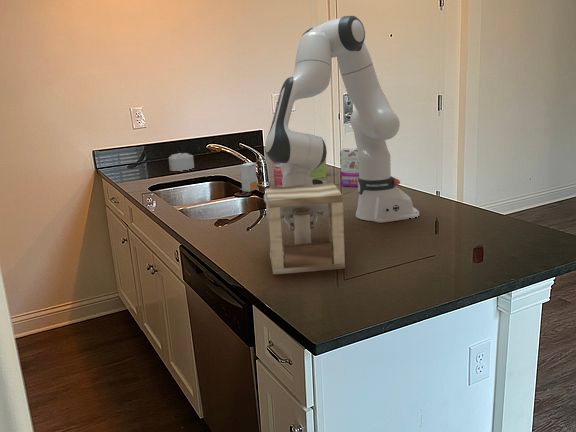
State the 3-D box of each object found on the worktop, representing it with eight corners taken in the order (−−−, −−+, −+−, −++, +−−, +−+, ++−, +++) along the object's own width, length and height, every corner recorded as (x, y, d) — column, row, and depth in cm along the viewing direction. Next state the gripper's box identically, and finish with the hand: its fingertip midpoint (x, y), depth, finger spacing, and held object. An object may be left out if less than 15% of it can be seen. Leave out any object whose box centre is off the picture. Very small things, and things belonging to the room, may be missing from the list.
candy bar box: (368, 185, 258) (367, 148, 254) (365, 187, 254) (364, 150, 250) (344, 184, 263) (342, 147, 258) (340, 186, 258) (339, 149, 254)
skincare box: (249, 192, 258) (247, 165, 255) (242, 191, 261) (239, 164, 257) (257, 189, 263) (255, 162, 260) (250, 188, 266) (248, 162, 262)
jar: (310, 243, 175) (309, 206, 172) (313, 249, 170) (311, 211, 167) (293, 245, 175) (291, 208, 172) (295, 250, 170) (293, 212, 167)
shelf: (269, 254, 178) (265, 186, 172) (335, 248, 179) (332, 181, 173) (273, 274, 161) (268, 200, 156) (344, 268, 163) (342, 195, 157)
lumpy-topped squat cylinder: (169, 169, 322) (167, 153, 320) (192, 166, 326) (191, 151, 324) (171, 172, 313) (170, 156, 311) (196, 169, 317) (194, 153, 315)
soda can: (290, 197, 245) (288, 166, 242) (273, 197, 247) (271, 166, 243) (293, 193, 252) (291, 163, 249) (277, 193, 254) (275, 163, 250)
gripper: (263, 185, 174) (266, 226, 167) (331, 180, 175) (337, 220, 168) (263, 196, 179) (266, 236, 173) (329, 191, 181) (335, 231, 174)
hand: (302, 228), depth 171 cm, fingers closed on jar, 5 cm apart
